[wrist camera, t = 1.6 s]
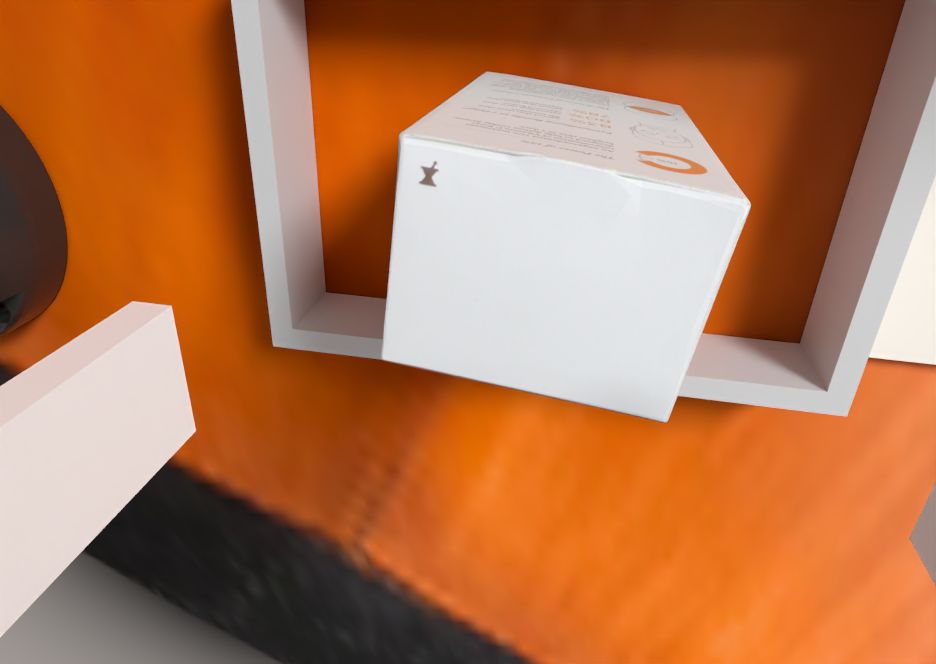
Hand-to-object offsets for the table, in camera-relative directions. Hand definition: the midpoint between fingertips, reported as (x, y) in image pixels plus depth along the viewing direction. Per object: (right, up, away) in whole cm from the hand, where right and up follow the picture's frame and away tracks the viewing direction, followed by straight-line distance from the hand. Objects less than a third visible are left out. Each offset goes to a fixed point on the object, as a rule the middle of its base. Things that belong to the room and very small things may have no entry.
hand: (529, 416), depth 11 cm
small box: (+3, +9, +16) cm, 19 cm away
